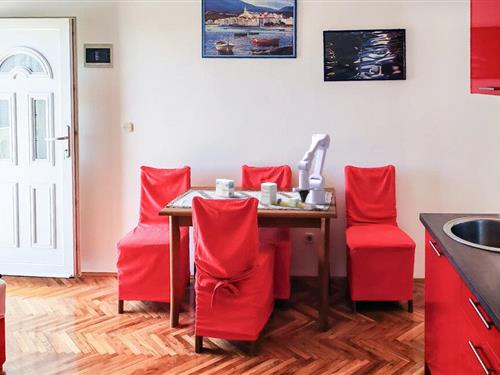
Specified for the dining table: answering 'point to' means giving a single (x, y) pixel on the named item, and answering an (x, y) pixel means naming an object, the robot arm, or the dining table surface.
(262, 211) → the dining table surface
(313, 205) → the comb
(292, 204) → the sleeve
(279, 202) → the pale yellow rod
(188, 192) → the dining table surface
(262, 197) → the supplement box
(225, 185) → the light bulb box
